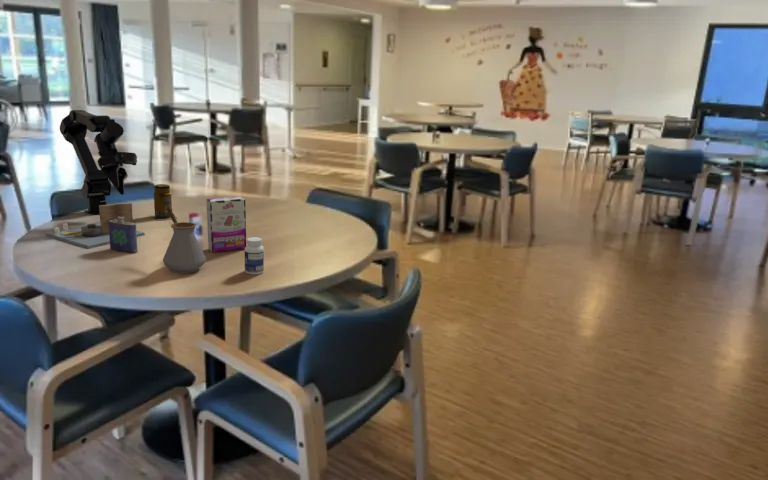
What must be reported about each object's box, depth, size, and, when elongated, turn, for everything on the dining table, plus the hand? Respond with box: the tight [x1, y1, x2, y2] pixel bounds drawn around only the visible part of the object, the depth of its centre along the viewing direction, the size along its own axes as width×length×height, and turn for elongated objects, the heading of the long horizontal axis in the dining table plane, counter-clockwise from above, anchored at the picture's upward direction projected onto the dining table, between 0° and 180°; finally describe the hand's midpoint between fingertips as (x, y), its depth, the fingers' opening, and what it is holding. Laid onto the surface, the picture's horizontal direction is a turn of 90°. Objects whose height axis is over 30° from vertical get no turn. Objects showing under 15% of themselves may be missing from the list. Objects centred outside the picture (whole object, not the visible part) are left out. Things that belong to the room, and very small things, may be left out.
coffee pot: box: [162, 206, 207, 274], centre depth 166 cm, size 21×12×15 cm, turn 34°
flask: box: [109, 217, 139, 254], centre depth 175 cm, size 9×3×11 cm, turn 74°
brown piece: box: [64, 202, 134, 236], centre depth 187 cm, size 20×6×9 cm, turn 128°
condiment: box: [150, 183, 178, 221], centre depth 215 cm, size 7×8×12 cm
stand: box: [45, 221, 145, 249], centre depth 189 cm, size 22×20×3 cm
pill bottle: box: [244, 236, 265, 275], centre depth 164 cm, size 5×5×10 cm
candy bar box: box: [206, 196, 247, 254], centre depth 182 cm, size 11×5×16 cm, turn 122°
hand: (120, 191), depth 201 cm, fingers open, 9 cm apart
